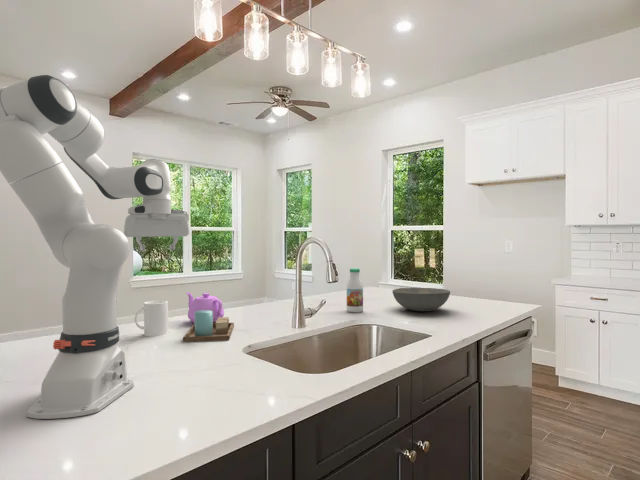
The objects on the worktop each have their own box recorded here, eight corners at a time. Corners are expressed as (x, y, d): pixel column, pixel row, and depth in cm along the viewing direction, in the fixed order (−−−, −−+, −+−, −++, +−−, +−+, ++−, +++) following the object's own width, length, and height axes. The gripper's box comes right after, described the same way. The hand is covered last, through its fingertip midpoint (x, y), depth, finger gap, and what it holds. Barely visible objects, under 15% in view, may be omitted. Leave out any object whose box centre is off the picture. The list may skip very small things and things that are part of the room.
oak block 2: (227, 333, 144) (227, 322, 144) (216, 334, 143) (216, 322, 143) (226, 330, 148) (226, 319, 148) (215, 331, 147) (215, 320, 147)
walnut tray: (229, 341, 135) (229, 335, 135) (183, 343, 133) (183, 337, 133) (233, 328, 155) (233, 322, 155) (193, 329, 153) (193, 324, 153)
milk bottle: (343, 310, 188) (343, 268, 188) (357, 309, 192) (357, 267, 191) (351, 313, 181) (351, 269, 181) (366, 311, 185) (366, 268, 184)
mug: (138, 340, 137) (137, 306, 137) (130, 336, 143) (130, 302, 143) (172, 335, 145) (172, 302, 144) (164, 330, 151) (163, 299, 151)
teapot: (173, 324, 162) (173, 293, 161) (200, 317, 174) (199, 289, 174) (210, 330, 152) (209, 297, 152) (235, 322, 164) (234, 292, 164)
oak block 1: (228, 329, 149) (228, 319, 149) (217, 330, 148) (217, 319, 148) (228, 327, 153) (228, 316, 153) (217, 328, 152) (217, 317, 152)
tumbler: (207, 340, 135) (207, 313, 135) (191, 339, 136) (191, 313, 136) (215, 335, 141) (215, 310, 141) (200, 334, 142) (200, 309, 142)
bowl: (389, 314, 179) (389, 292, 179) (395, 304, 204) (395, 284, 204) (450, 317, 171) (450, 294, 171) (449, 306, 196) (449, 286, 196)
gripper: (186, 210, 142) (186, 249, 143) (122, 208, 131) (123, 251, 131) (191, 209, 137) (191, 249, 137) (125, 207, 126) (126, 251, 126)
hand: (157, 250), depth 134 cm, fingers open, 8 cm apart
